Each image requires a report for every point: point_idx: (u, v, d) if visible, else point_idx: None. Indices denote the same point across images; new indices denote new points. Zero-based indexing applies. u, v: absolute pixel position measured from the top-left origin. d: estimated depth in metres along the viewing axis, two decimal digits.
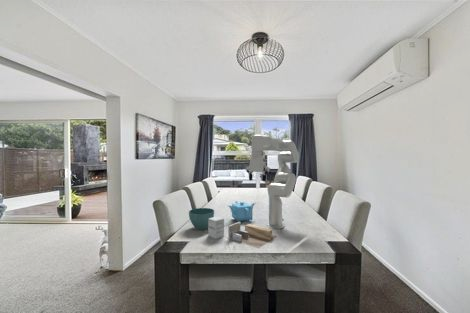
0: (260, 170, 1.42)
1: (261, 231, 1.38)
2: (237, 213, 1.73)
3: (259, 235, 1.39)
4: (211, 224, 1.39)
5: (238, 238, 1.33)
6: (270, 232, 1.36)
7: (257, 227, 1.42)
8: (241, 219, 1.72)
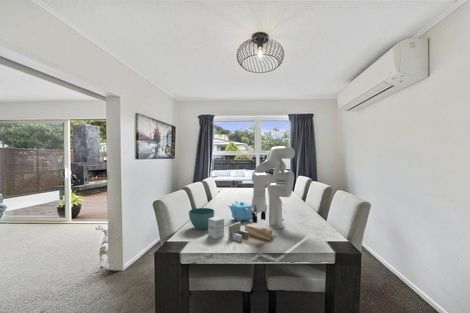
0: (264, 209, 1.42)
1: (261, 231, 1.38)
2: (237, 213, 1.73)
3: (259, 235, 1.39)
4: (211, 224, 1.39)
5: (238, 238, 1.33)
6: (270, 232, 1.36)
7: (257, 227, 1.42)
8: (241, 219, 1.72)
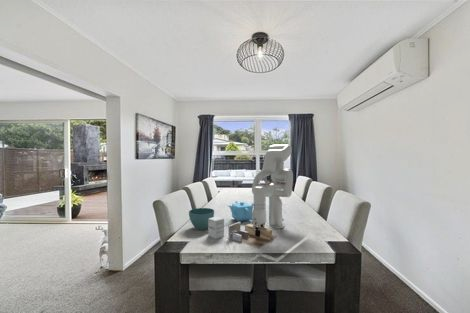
0: (265, 221, 1.43)
1: (261, 231, 1.38)
2: (237, 213, 1.73)
3: None
4: (211, 224, 1.39)
5: (238, 238, 1.33)
6: (270, 232, 1.36)
7: None
8: (241, 219, 1.72)
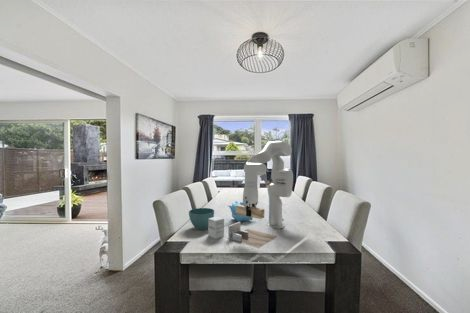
0: (256, 201, 1.34)
1: (252, 210, 1.30)
2: None
3: (251, 215, 1.31)
4: (211, 224, 1.39)
5: (238, 238, 1.33)
6: (262, 211, 1.28)
7: None
8: (241, 219, 1.72)
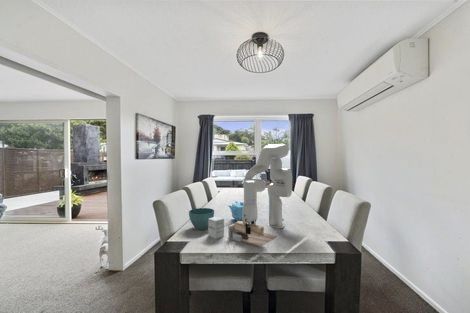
0: (256, 218, 1.34)
1: (252, 228, 1.29)
2: (237, 213, 1.73)
3: None
4: (211, 224, 1.39)
5: (238, 238, 1.33)
6: (261, 229, 1.27)
7: None
8: (241, 219, 1.72)
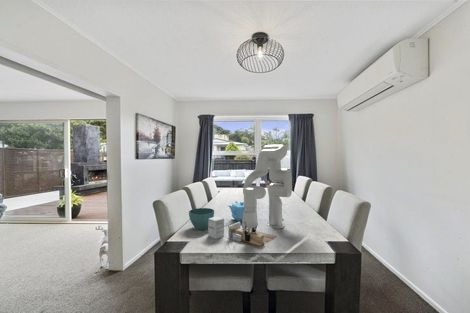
0: (256, 225, 1.34)
1: (252, 236, 1.29)
2: (237, 213, 1.73)
3: (250, 241, 1.30)
4: (211, 224, 1.39)
5: (238, 238, 1.33)
6: (261, 238, 1.27)
7: None
8: (241, 219, 1.72)
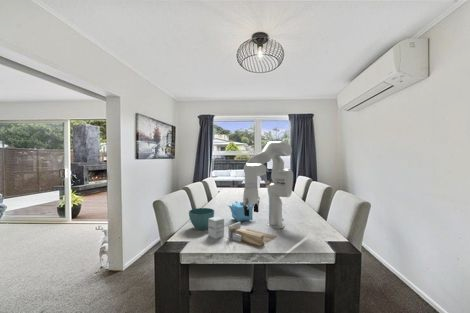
0: (257, 201, 1.36)
1: (252, 236, 1.29)
2: (237, 213, 1.73)
3: (250, 241, 1.30)
4: (211, 224, 1.39)
5: (238, 238, 1.33)
6: (261, 238, 1.27)
7: (248, 232, 1.33)
8: (241, 219, 1.72)
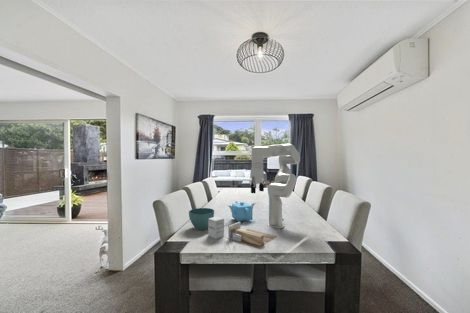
0: (262, 181, 1.47)
1: (252, 236, 1.29)
2: (237, 213, 1.73)
3: (250, 241, 1.30)
4: (211, 224, 1.39)
5: (238, 238, 1.33)
6: (261, 238, 1.27)
7: (248, 232, 1.33)
8: (241, 219, 1.72)
